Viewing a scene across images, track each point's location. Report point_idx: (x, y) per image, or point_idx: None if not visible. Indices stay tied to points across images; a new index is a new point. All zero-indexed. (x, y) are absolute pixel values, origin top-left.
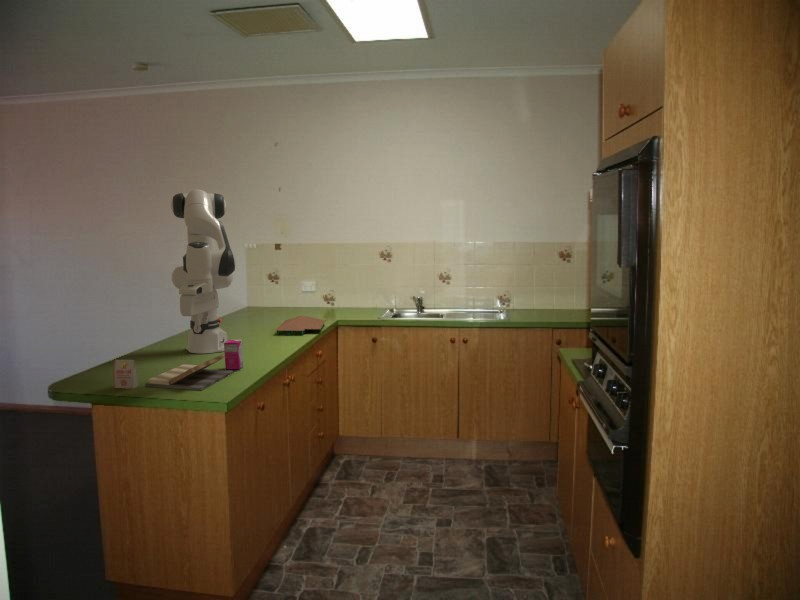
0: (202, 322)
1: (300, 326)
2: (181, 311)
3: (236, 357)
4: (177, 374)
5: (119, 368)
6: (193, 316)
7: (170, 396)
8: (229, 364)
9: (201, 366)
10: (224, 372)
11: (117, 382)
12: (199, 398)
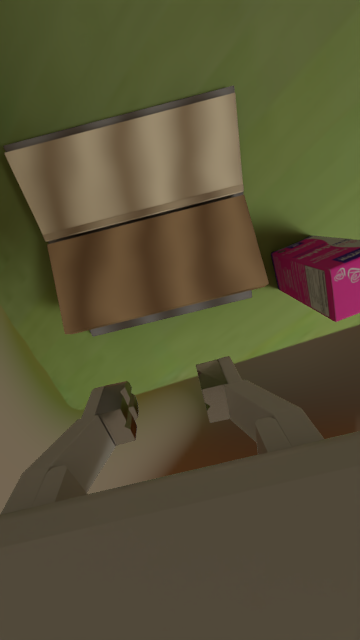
0: (198, 376)
1: None
2: None
3: (298, 296)
4: (112, 205)
5: None
6: (28, 489)
7: (14, 305)
8: (281, 268)
9: (122, 320)
10: None
11: None
12: (54, 367)
